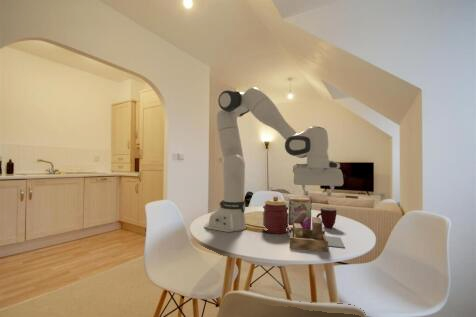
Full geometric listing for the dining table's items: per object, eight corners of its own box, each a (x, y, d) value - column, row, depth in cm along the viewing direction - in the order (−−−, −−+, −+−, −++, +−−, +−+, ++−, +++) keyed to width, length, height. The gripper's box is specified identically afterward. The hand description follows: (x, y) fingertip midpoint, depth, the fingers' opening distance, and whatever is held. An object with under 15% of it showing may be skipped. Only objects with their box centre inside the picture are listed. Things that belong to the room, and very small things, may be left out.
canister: (263, 233, 110) (263, 197, 111) (262, 226, 123) (262, 194, 124) (290, 234, 110) (290, 198, 110) (286, 227, 123) (286, 194, 123)
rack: (289, 247, 93) (289, 237, 93) (291, 236, 107) (291, 227, 108) (327, 251, 89) (328, 241, 89) (324, 239, 103) (324, 230, 103)
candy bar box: (289, 230, 116) (289, 198, 116) (288, 228, 121) (288, 197, 121) (311, 231, 115) (311, 199, 115) (309, 229, 120) (309, 198, 120)
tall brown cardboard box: (312, 248, 93) (313, 222, 93) (312, 240, 102) (312, 217, 103) (322, 249, 92) (322, 223, 92) (320, 241, 101) (320, 217, 102)
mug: (320, 229, 119) (321, 210, 119) (313, 225, 127) (313, 207, 127) (339, 229, 120) (339, 210, 121) (331, 225, 128) (331, 207, 129)
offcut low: (293, 245, 95) (294, 236, 96) (294, 239, 104) (294, 230, 104) (301, 246, 95) (301, 237, 95) (300, 239, 103) (301, 230, 103)
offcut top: (295, 235, 96) (295, 227, 96) (293, 230, 103) (293, 223, 103) (302, 236, 96) (302, 227, 96) (299, 231, 103) (299, 223, 103)
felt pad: (326, 246, 95) (326, 245, 95) (324, 236, 108) (324, 235, 108) (345, 248, 93) (345, 247, 93) (340, 238, 106) (340, 237, 106)
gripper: (292, 163, 98) (292, 195, 97) (344, 163, 92) (344, 197, 92) (293, 163, 104) (293, 193, 103) (341, 163, 98) (341, 195, 98)
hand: (317, 195), depth 97 cm, fingers open, 8 cm apart
